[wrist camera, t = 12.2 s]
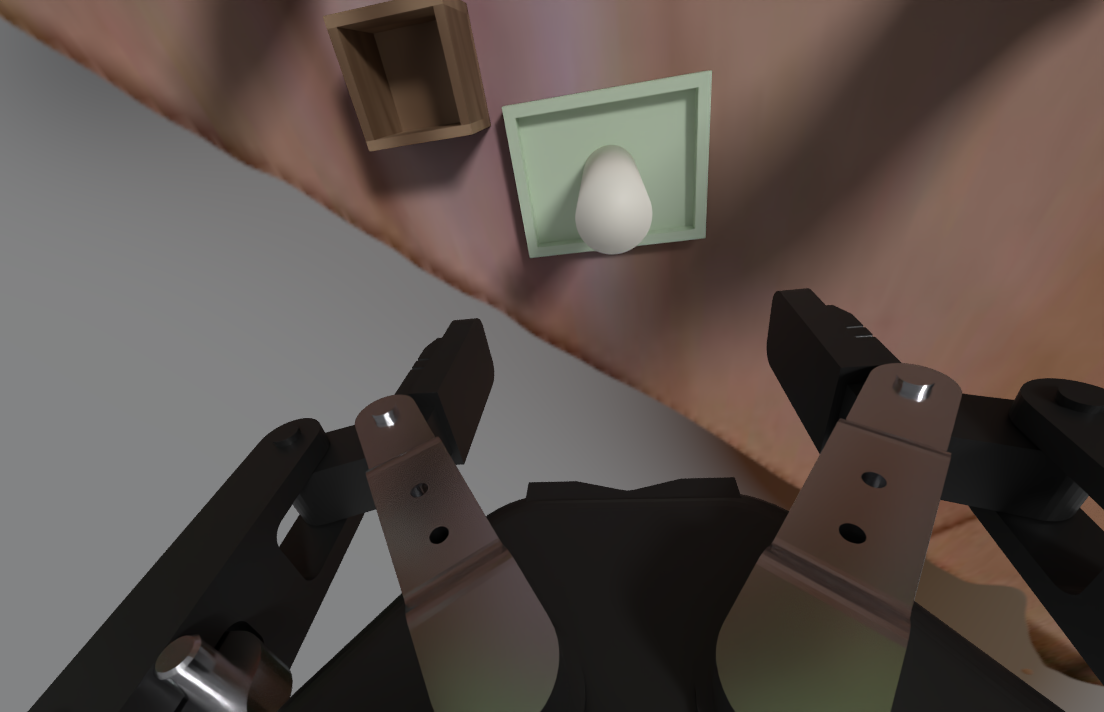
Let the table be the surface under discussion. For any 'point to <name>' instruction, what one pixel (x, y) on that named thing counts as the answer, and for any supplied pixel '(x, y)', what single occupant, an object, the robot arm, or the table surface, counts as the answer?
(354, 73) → the pen cup
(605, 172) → the dowel
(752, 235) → the table surface
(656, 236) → the tray
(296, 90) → the table surface
